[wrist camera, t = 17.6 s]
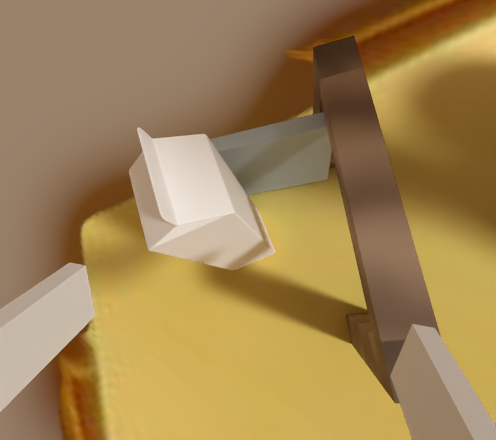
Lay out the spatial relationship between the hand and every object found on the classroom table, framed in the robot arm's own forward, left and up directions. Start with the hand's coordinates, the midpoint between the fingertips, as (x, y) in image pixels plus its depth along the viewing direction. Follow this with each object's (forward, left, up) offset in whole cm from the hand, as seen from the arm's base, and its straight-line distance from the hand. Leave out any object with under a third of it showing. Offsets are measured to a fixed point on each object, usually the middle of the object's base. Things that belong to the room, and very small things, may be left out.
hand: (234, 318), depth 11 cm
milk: (-3, -8, -22) cm, 24 cm away
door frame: (-10, +1, -22) cm, 24 cm away
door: (-11, -11, -22) cm, 27 cm away
